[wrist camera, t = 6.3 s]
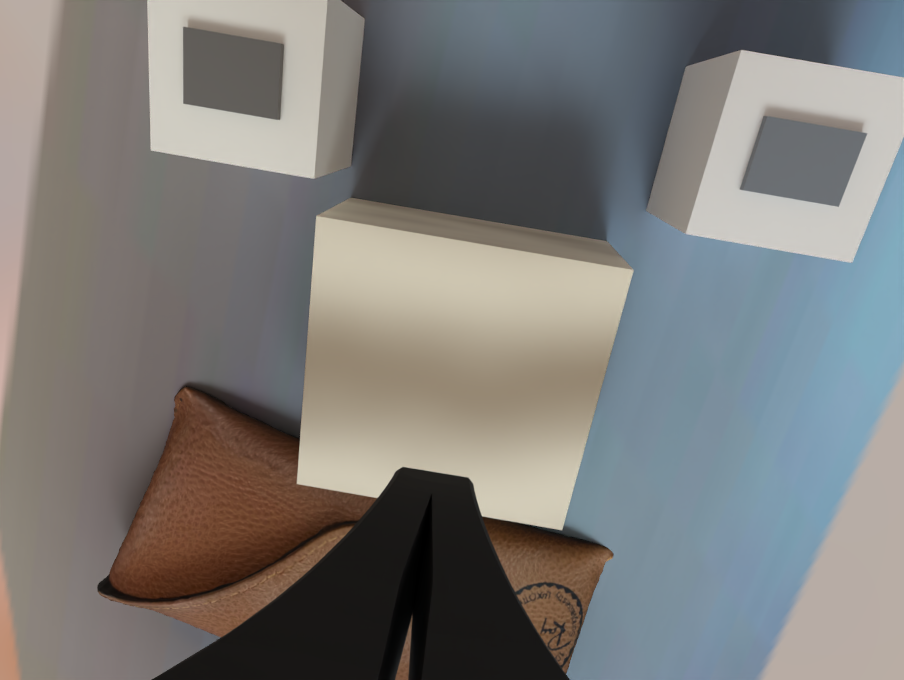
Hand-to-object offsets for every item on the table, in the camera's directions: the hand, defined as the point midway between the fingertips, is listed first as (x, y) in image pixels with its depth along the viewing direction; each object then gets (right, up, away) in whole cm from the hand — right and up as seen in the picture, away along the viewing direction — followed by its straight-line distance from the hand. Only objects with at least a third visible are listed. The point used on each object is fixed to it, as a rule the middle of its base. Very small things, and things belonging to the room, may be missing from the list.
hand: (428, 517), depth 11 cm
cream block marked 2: (-4, +11, +6) cm, 13 cm away
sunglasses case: (-3, -5, +13) cm, 14 cm away
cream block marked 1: (+9, +9, +6) cm, 14 cm away
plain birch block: (+1, +3, +9) cm, 10 cm away
